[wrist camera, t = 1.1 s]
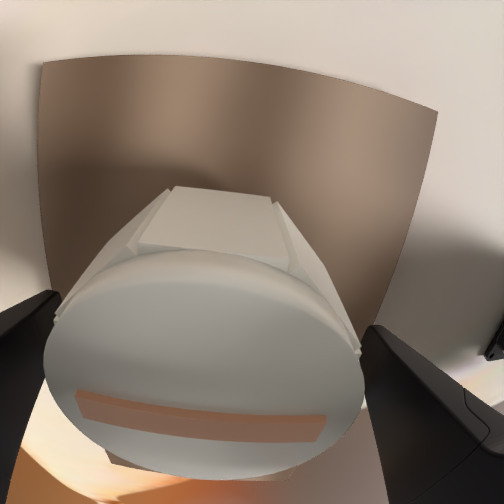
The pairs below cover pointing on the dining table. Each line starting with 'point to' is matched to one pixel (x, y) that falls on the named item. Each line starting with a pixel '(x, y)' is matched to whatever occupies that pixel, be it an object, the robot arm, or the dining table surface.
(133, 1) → the dining table surface
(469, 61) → the dining table surface
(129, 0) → the dining table surface
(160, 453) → the cap
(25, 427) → the robot arm
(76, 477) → the dining table surface
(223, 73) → the post board
